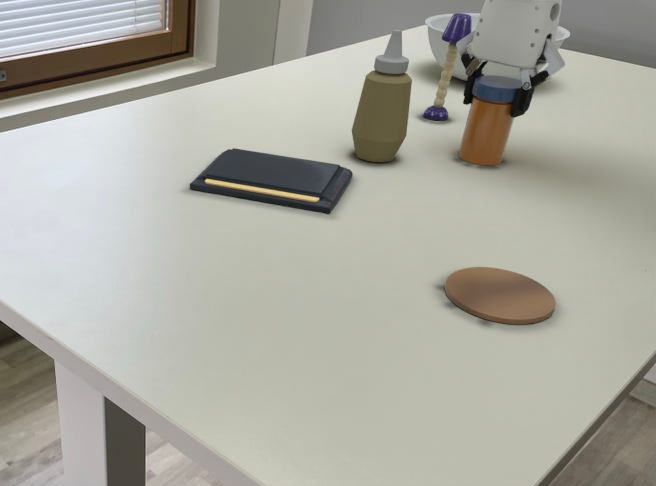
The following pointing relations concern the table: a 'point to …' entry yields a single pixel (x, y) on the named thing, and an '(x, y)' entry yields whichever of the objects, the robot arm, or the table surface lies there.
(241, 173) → the wallet
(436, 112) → the toy lamp
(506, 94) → the lid
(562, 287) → the table surface
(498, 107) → the jar
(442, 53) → the bowl
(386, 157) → the squeeze bottle
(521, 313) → the coaster
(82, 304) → the table surface
